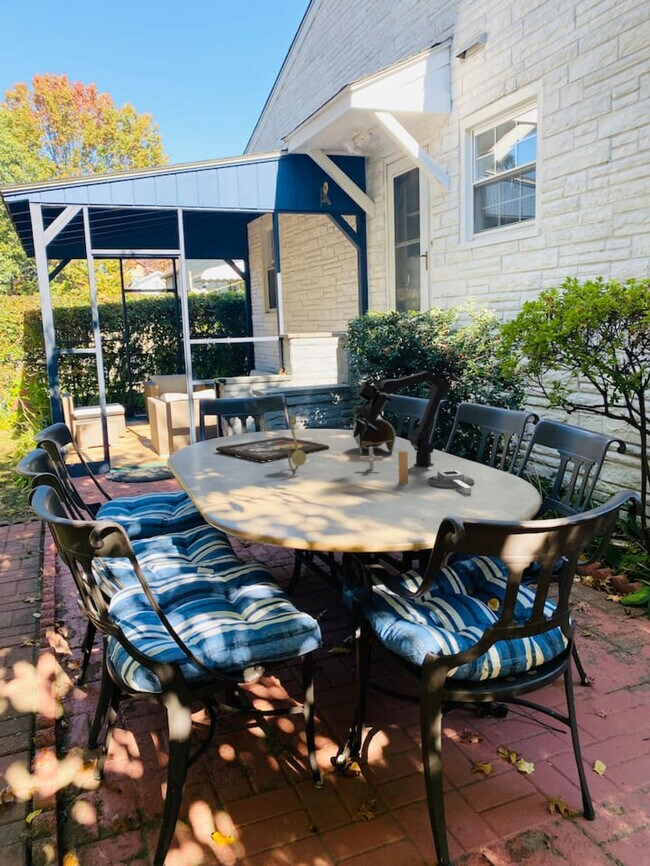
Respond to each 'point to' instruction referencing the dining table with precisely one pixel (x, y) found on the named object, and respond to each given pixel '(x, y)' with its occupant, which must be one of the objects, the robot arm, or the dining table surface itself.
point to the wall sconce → (297, 456)
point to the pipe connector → (371, 458)
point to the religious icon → (269, 448)
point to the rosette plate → (452, 481)
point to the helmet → (377, 437)
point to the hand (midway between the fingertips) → (358, 438)
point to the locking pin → (403, 467)
